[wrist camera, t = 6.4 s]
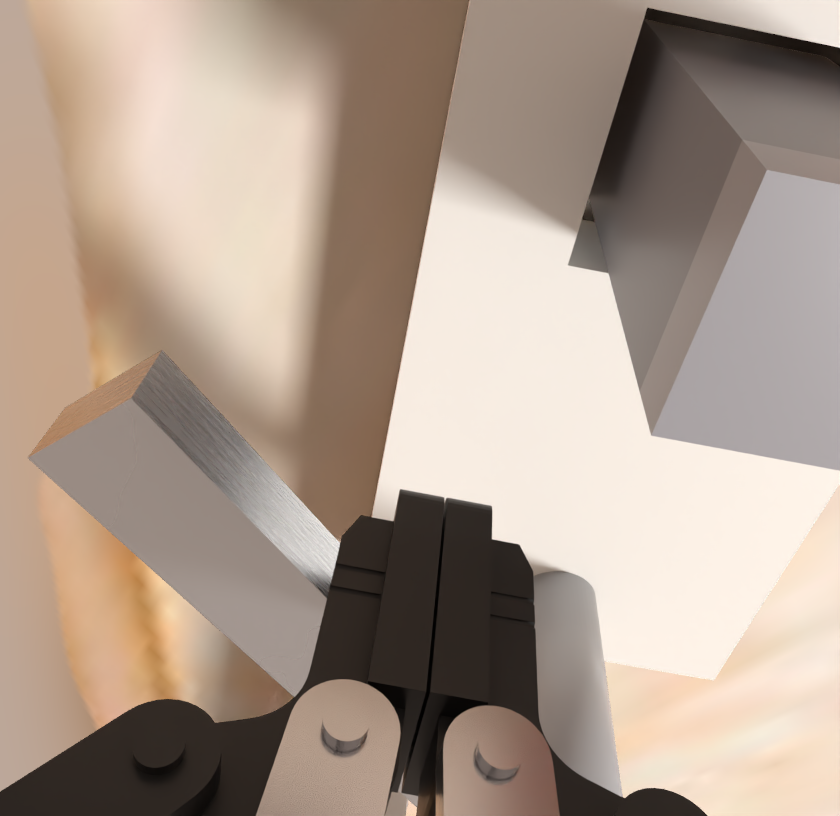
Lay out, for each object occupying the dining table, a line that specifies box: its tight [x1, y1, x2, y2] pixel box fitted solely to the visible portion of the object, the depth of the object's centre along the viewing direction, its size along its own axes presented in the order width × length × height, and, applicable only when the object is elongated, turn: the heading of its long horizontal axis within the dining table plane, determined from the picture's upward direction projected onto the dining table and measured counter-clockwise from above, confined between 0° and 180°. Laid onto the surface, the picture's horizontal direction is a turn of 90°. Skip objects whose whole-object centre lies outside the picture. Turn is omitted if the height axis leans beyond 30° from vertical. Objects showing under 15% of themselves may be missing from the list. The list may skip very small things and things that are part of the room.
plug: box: [589, 19, 840, 471], centre depth 15 cm, size 4×4×10 cm
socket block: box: [371, 0, 840, 797], centre depth 18 cm, size 21×12×10 cm, turn 170°
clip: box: [28, 350, 418, 807], centre depth 15 cm, size 16×3×1 cm, turn 32°
